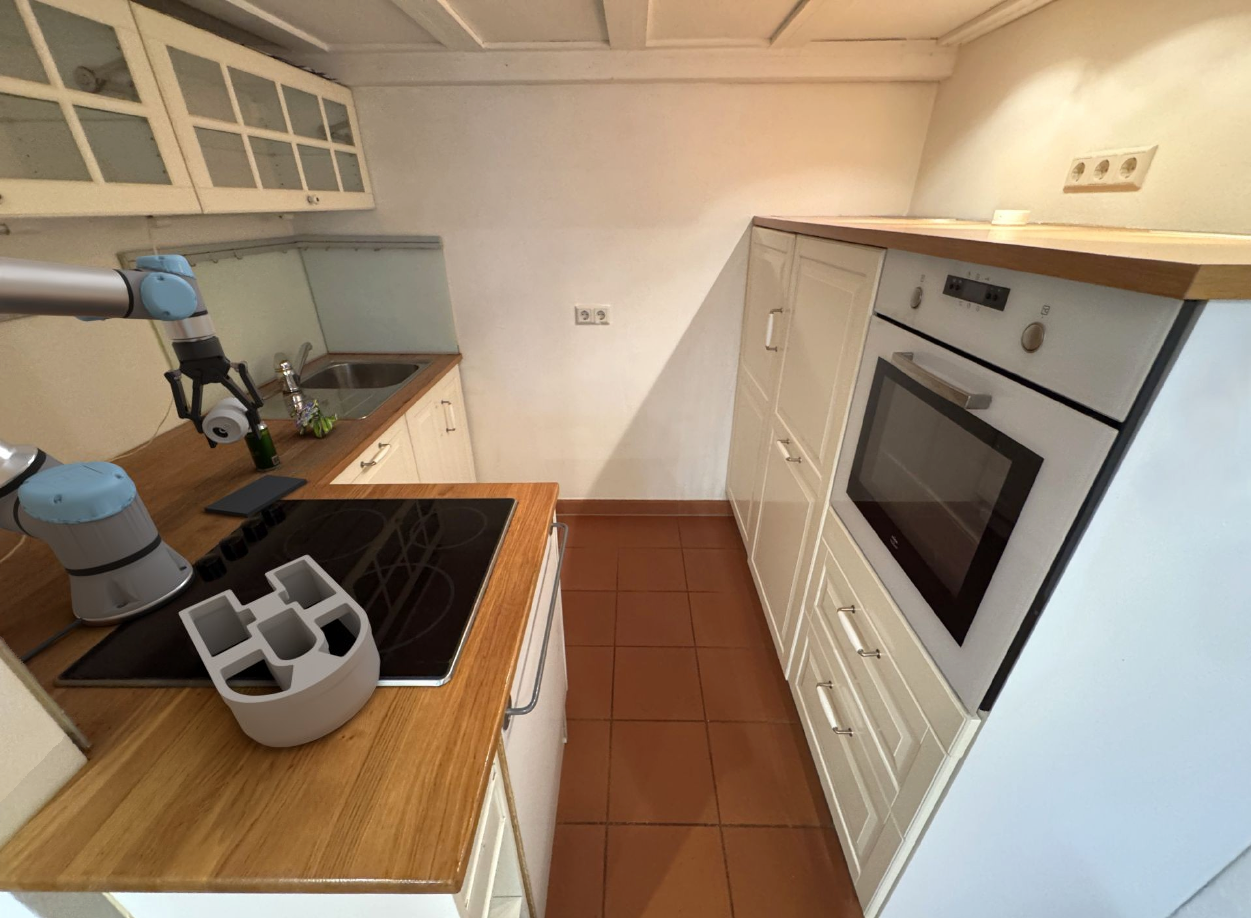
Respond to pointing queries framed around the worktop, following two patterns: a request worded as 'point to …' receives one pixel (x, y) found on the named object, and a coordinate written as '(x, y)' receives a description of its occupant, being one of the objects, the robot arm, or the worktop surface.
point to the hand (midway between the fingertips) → (237, 442)
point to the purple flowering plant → (309, 415)
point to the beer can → (262, 449)
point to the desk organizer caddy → (288, 654)
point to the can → (226, 422)
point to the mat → (255, 496)
